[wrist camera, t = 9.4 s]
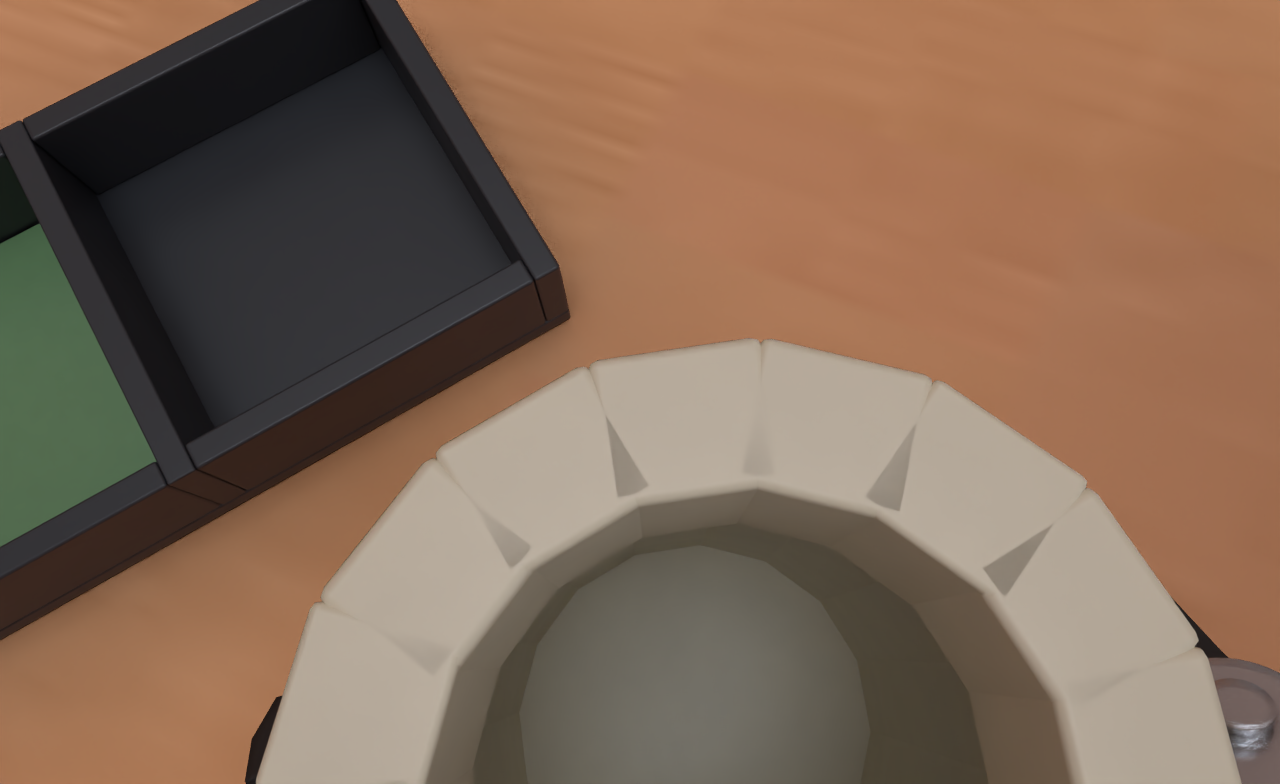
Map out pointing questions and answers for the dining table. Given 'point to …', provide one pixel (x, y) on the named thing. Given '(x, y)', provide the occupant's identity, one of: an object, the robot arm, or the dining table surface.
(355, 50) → the tray
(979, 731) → the jar
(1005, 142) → the dining table surface
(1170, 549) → the dining table surface
